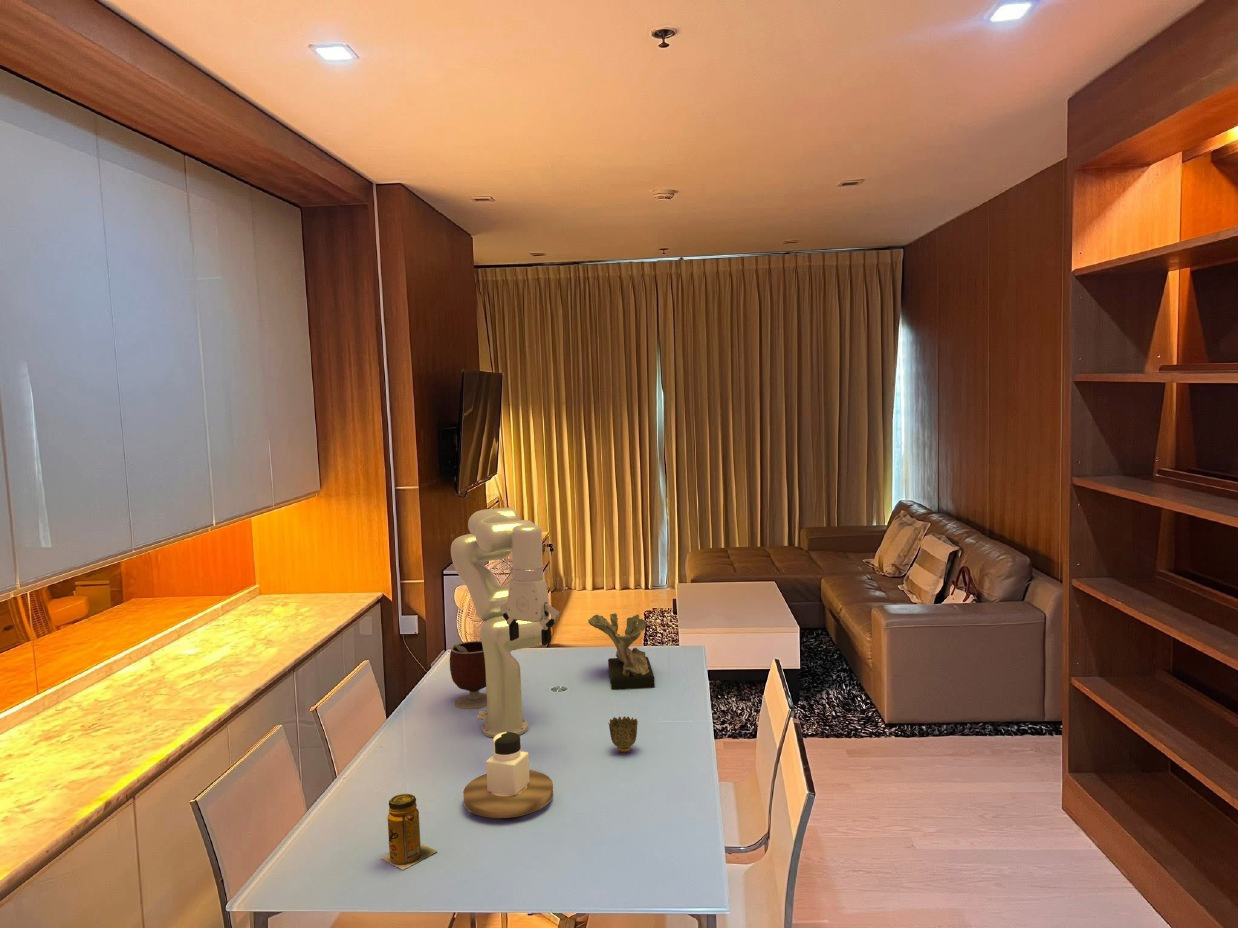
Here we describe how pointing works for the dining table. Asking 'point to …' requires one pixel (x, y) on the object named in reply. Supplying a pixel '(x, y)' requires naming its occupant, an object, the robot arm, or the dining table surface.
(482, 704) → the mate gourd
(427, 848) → the condiment
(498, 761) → the medicine bottle
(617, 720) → the brown textured pot
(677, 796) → the dining table surface
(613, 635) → the coral
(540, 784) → the disc
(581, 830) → the dining table surface
